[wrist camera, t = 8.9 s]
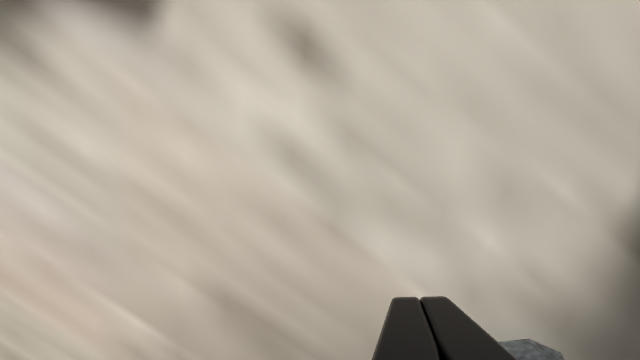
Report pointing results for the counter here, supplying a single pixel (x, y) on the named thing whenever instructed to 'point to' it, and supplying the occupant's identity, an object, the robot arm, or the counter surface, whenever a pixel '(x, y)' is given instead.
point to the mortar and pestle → (530, 350)
